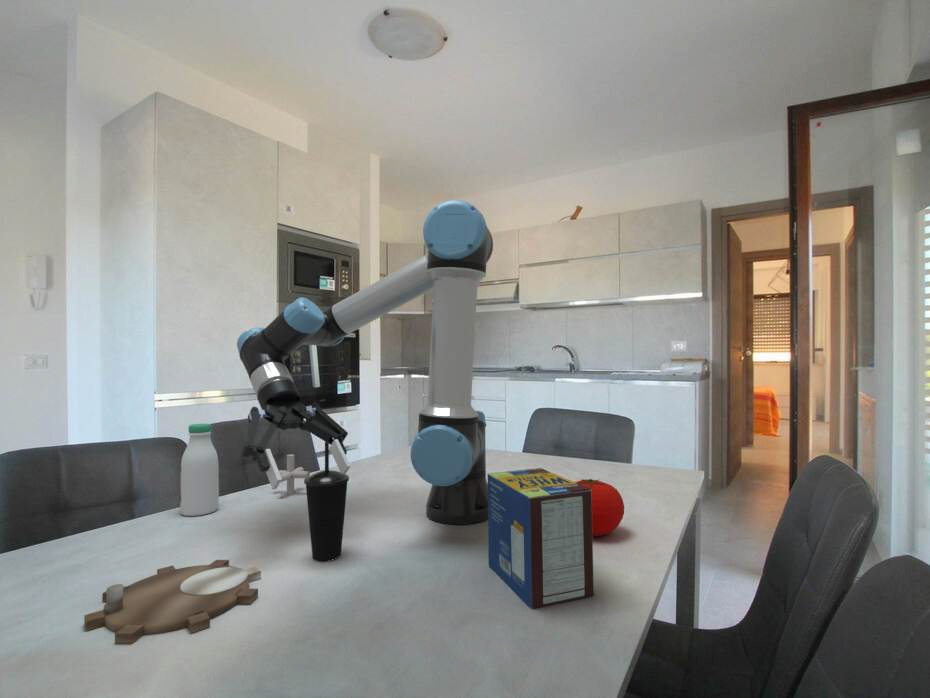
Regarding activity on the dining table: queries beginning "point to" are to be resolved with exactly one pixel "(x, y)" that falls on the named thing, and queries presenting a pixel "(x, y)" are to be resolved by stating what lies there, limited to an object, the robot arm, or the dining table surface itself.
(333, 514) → the drinking cup
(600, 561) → the dining table surface
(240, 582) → the sprocket plate
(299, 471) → the pipe connector
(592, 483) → the tomato
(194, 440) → the milk bottle
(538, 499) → the protein box
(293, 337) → the robot arm
